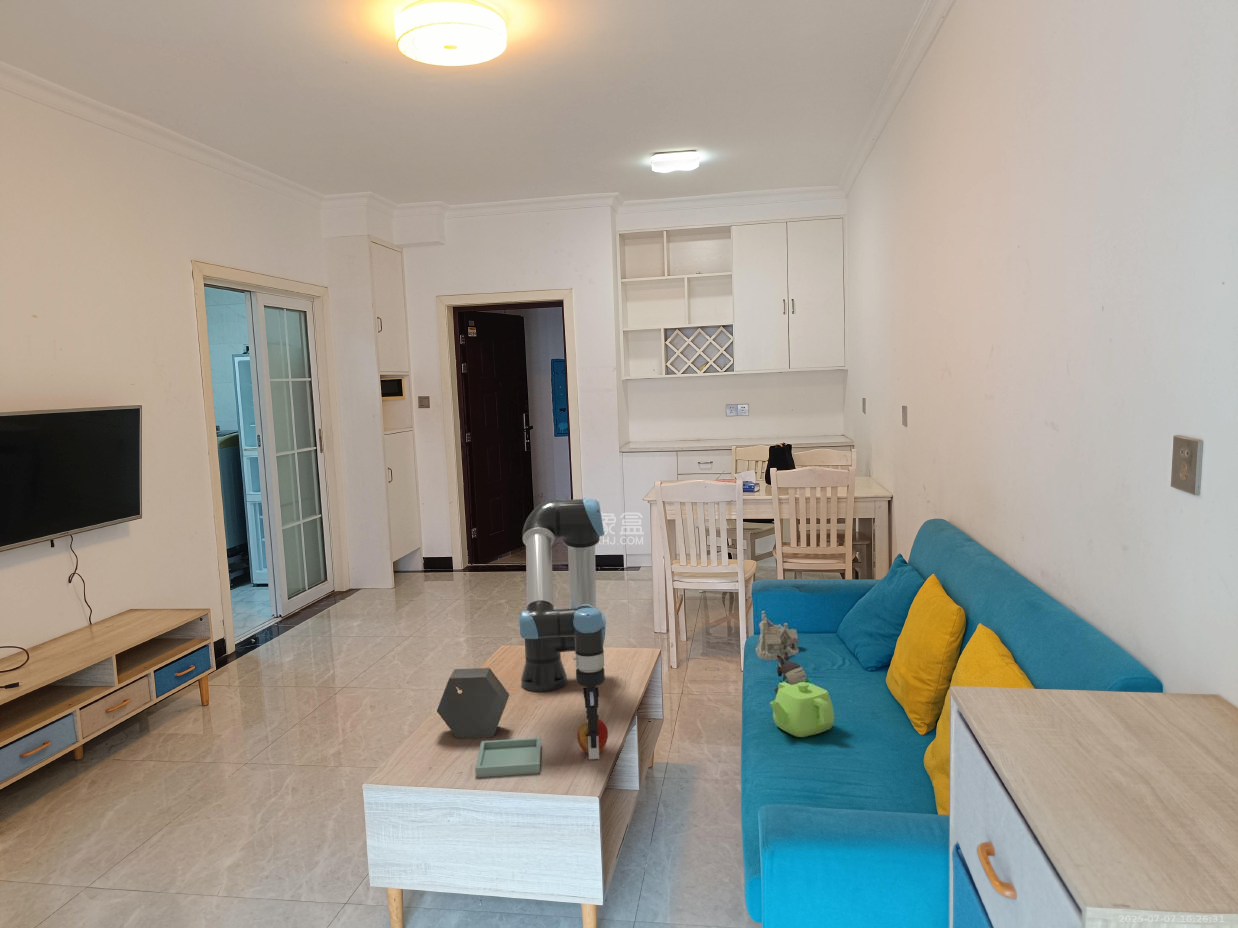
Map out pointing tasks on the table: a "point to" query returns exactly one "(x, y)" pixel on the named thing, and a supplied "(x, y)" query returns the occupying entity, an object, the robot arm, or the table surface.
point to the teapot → (802, 709)
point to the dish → (509, 757)
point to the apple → (584, 739)
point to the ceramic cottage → (776, 640)
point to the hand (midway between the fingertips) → (593, 750)
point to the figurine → (791, 671)
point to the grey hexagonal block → (473, 703)
